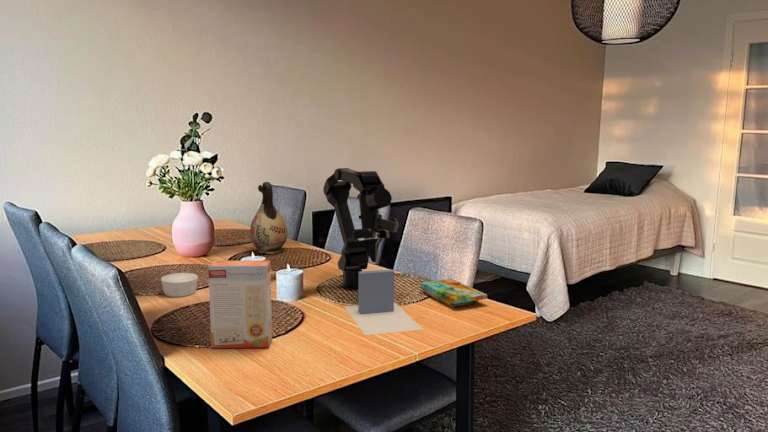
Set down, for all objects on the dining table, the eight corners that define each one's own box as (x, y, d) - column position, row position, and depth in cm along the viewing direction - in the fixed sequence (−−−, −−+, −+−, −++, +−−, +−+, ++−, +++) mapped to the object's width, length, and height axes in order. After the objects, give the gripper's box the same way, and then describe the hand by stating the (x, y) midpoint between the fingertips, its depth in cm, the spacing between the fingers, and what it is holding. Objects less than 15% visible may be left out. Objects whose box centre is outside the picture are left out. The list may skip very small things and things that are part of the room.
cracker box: (272, 339, 146) (271, 259, 143) (268, 349, 140) (267, 265, 137) (216, 339, 146) (214, 259, 142) (210, 349, 140) (207, 265, 136)
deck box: (358, 311, 167) (358, 271, 165) (391, 308, 170) (391, 269, 168) (360, 314, 165) (360, 273, 163) (393, 311, 168) (394, 271, 166)
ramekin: (186, 299, 177) (186, 283, 177) (154, 297, 180) (153, 280, 179) (205, 289, 188) (204, 273, 187) (174, 287, 190) (173, 271, 190)
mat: (343, 307, 172) (343, 306, 172) (394, 303, 176) (394, 302, 176) (365, 336, 149) (365, 335, 149) (423, 330, 154) (423, 329, 154)
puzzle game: (450, 275, 192) (487, 292, 175) (449, 289, 193) (486, 306, 176) (420, 279, 187) (455, 296, 169) (419, 293, 188) (454, 312, 170)
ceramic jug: (246, 249, 245) (244, 179, 240) (282, 246, 252) (281, 178, 247) (255, 258, 230) (253, 183, 225) (293, 255, 237) (292, 182, 232)
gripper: (385, 206, 166) (391, 260, 165) (402, 210, 184) (407, 258, 183) (349, 211, 169) (354, 264, 168) (369, 214, 187) (374, 262, 186)
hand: (374, 262), depth 176 cm, fingers closed
